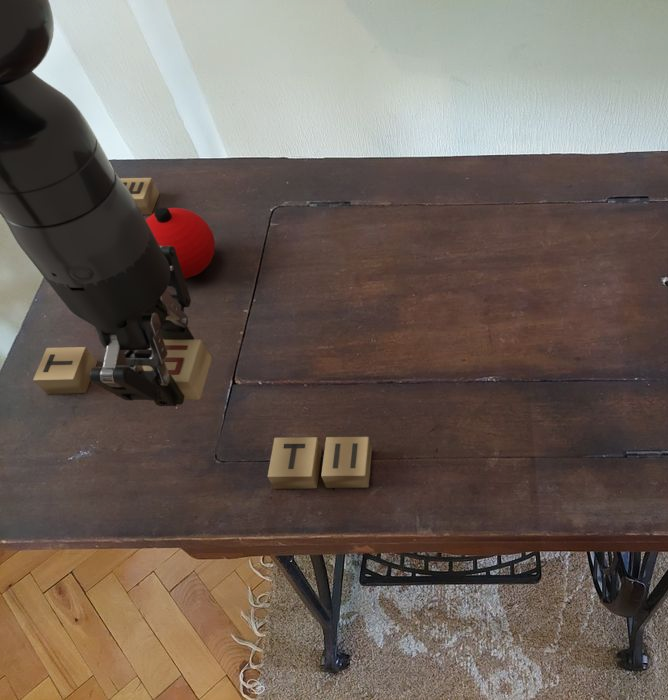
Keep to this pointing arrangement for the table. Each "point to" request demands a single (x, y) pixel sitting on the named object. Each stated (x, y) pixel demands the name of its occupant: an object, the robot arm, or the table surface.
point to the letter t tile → (65, 370)
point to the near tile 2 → (295, 463)
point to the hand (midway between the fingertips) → (180, 376)
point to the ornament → (184, 237)
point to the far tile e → (142, 193)
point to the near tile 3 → (346, 462)
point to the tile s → (187, 366)
